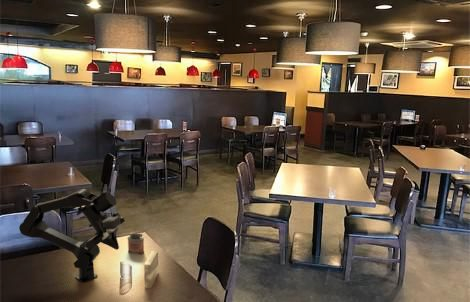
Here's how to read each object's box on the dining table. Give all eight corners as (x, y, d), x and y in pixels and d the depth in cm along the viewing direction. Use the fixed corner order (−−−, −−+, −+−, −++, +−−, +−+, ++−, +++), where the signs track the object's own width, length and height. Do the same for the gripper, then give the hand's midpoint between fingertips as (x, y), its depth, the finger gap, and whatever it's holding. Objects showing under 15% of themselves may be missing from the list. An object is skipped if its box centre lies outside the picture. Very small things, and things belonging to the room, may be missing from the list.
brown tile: (144, 287, 145) (143, 264, 143) (152, 272, 156) (152, 250, 155) (150, 288, 144) (150, 264, 143) (158, 272, 156) (158, 250, 154)
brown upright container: (126, 253, 173) (126, 233, 172) (130, 250, 177) (129, 230, 175) (142, 255, 172) (141, 235, 170) (145, 252, 175) (145, 232, 173)
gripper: (92, 222, 135) (116, 256, 136) (122, 199, 151) (143, 230, 153) (74, 232, 139) (98, 265, 141) (105, 209, 156) (126, 238, 158)
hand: (117, 249), depth 148 cm, fingers closed
